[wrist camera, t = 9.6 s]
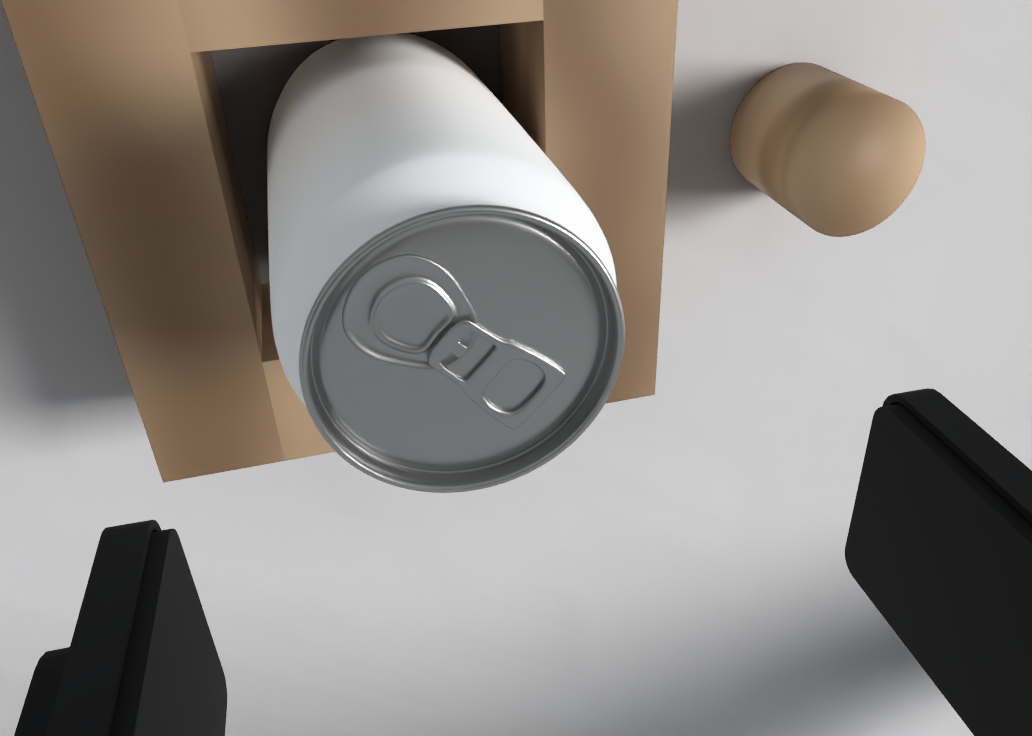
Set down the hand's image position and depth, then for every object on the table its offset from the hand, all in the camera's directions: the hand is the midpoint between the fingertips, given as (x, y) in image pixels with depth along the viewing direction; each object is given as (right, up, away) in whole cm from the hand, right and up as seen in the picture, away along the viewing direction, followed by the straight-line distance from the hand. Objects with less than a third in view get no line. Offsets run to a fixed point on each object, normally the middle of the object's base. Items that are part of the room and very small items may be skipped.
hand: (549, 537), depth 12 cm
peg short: (+8, +10, +16) cm, 20 cm away
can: (-4, +9, +13) cm, 16 cm away
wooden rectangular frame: (-4, +9, +13) cm, 16 cm away
